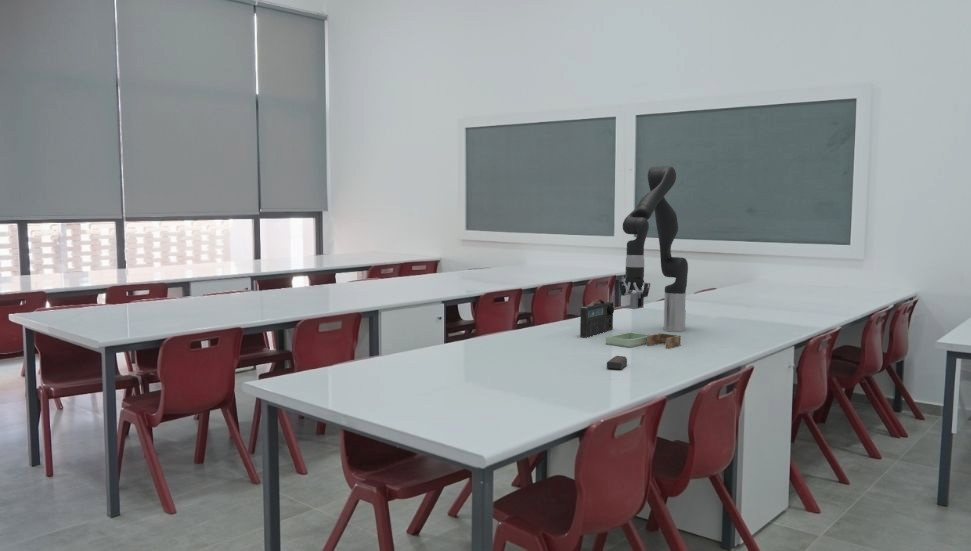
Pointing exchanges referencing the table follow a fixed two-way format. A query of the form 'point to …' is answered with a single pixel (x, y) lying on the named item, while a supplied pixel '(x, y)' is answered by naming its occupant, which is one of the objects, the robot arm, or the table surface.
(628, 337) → the tray
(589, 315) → the radio
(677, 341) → the u-shaped wooden frame
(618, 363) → the usb drive
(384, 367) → the table surface
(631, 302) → the grey block with stick
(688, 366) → the table surface
